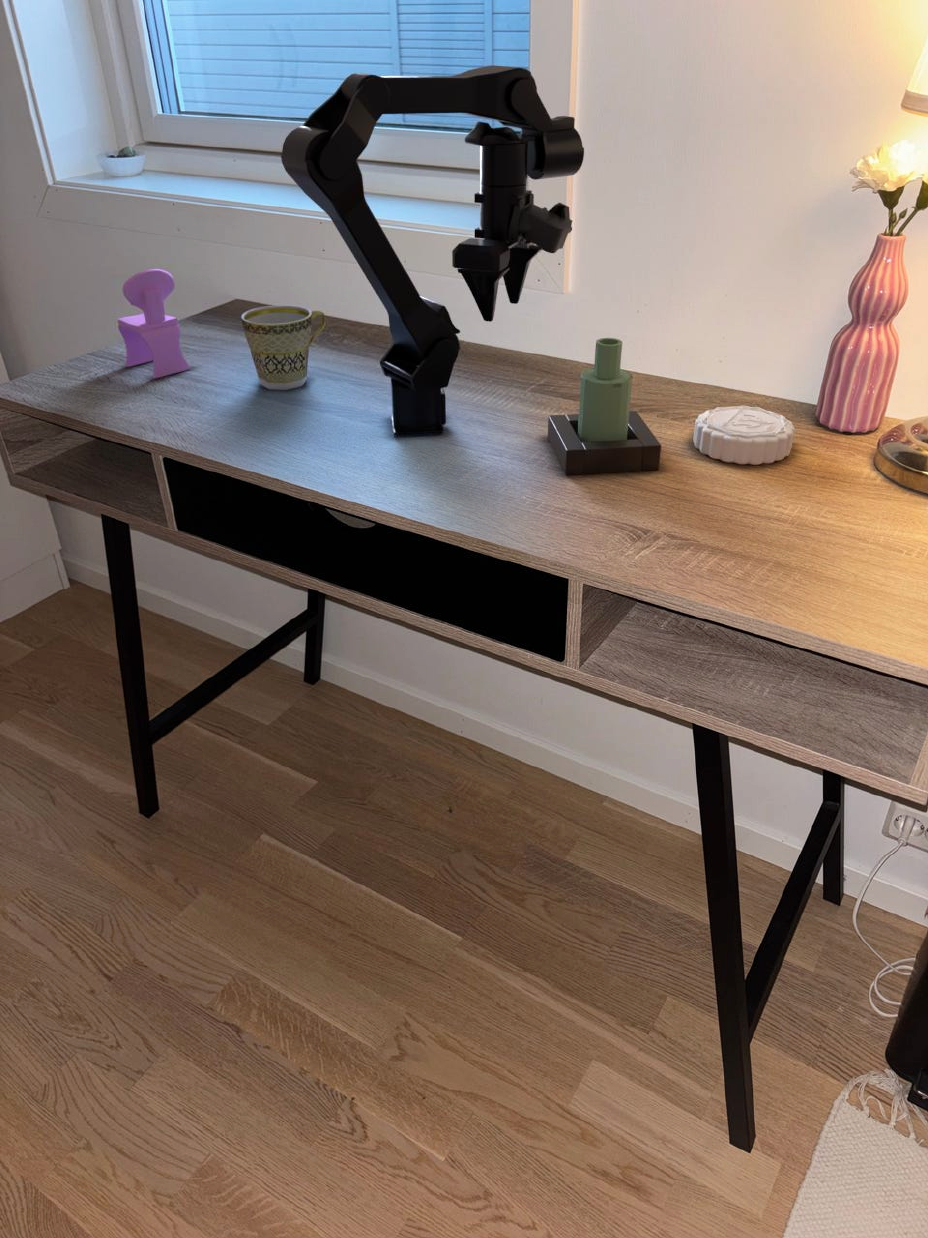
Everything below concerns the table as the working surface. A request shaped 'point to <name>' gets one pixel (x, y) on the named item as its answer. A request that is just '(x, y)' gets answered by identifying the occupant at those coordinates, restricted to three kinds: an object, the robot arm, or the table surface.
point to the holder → (603, 448)
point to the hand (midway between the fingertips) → (501, 311)
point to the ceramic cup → (280, 343)
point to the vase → (605, 395)
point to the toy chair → (152, 324)
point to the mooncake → (743, 435)
